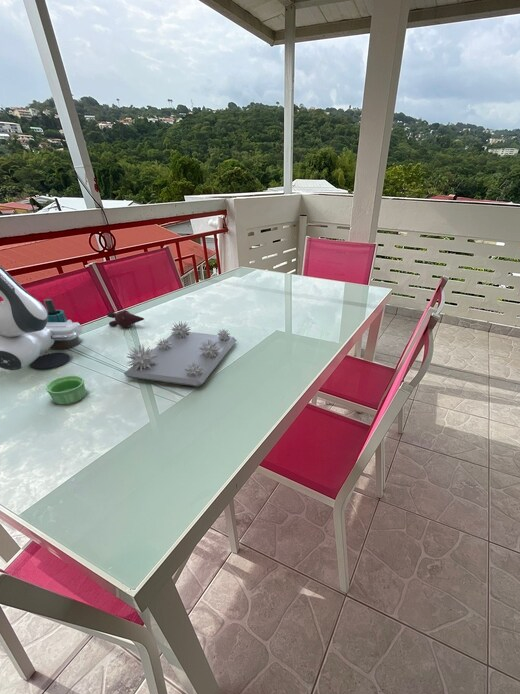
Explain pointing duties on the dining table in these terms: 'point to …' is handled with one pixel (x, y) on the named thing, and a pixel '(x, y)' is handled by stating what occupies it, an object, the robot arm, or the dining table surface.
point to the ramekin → (66, 389)
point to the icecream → (123, 318)
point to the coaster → (50, 361)
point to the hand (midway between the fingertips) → (57, 321)
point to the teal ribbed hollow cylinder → (57, 317)
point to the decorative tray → (181, 357)
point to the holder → (60, 343)
